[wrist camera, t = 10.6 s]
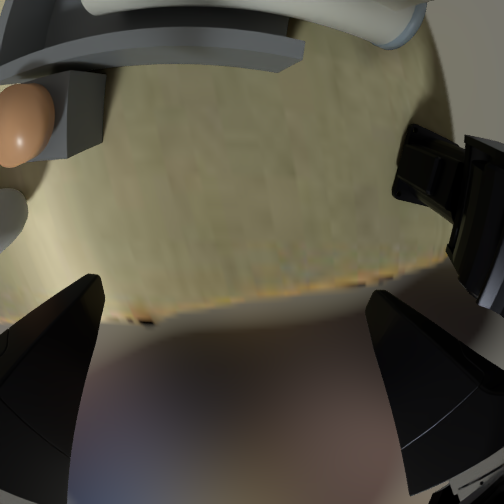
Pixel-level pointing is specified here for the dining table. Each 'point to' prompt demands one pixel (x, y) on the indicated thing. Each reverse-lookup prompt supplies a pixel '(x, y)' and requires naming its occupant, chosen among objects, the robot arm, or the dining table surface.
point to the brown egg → (24, 122)
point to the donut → (11, 215)
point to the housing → (125, 53)
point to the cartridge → (309, 14)
